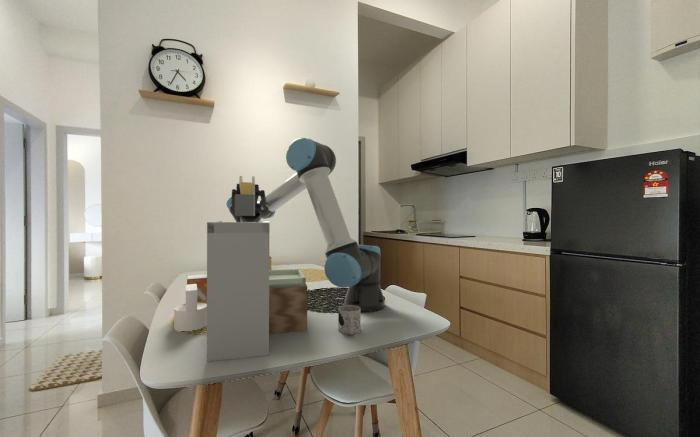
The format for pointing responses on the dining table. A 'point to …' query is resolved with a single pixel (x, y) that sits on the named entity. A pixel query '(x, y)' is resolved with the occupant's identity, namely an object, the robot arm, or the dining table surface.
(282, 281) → the tray
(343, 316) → the mug
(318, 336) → the dining table surface
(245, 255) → the grey tall block
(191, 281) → the small box
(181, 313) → the base with upright slab
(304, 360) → the dining table surface
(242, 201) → the yellow grey boxy piece
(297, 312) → the riser
